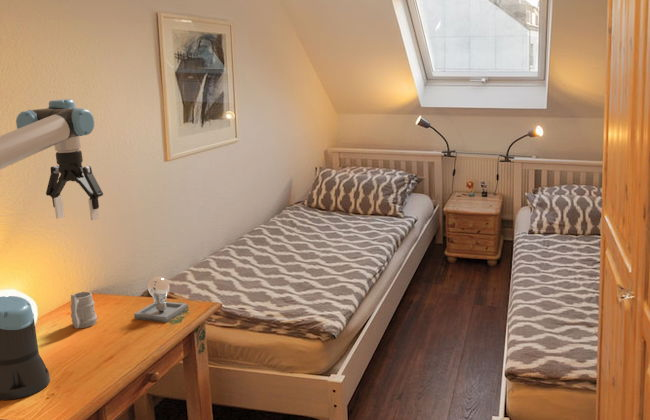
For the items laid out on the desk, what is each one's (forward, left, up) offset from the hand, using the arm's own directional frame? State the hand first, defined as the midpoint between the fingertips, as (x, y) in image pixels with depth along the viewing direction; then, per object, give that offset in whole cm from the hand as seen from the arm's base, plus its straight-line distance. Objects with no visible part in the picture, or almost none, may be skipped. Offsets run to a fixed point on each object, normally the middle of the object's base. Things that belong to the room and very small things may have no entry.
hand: (77, 218), depth 217 cm
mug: (-3, +1, -35) cm, 35 cm away
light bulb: (+13, -18, -34) cm, 41 cm away
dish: (+13, -18, -35) cm, 41 cm away
